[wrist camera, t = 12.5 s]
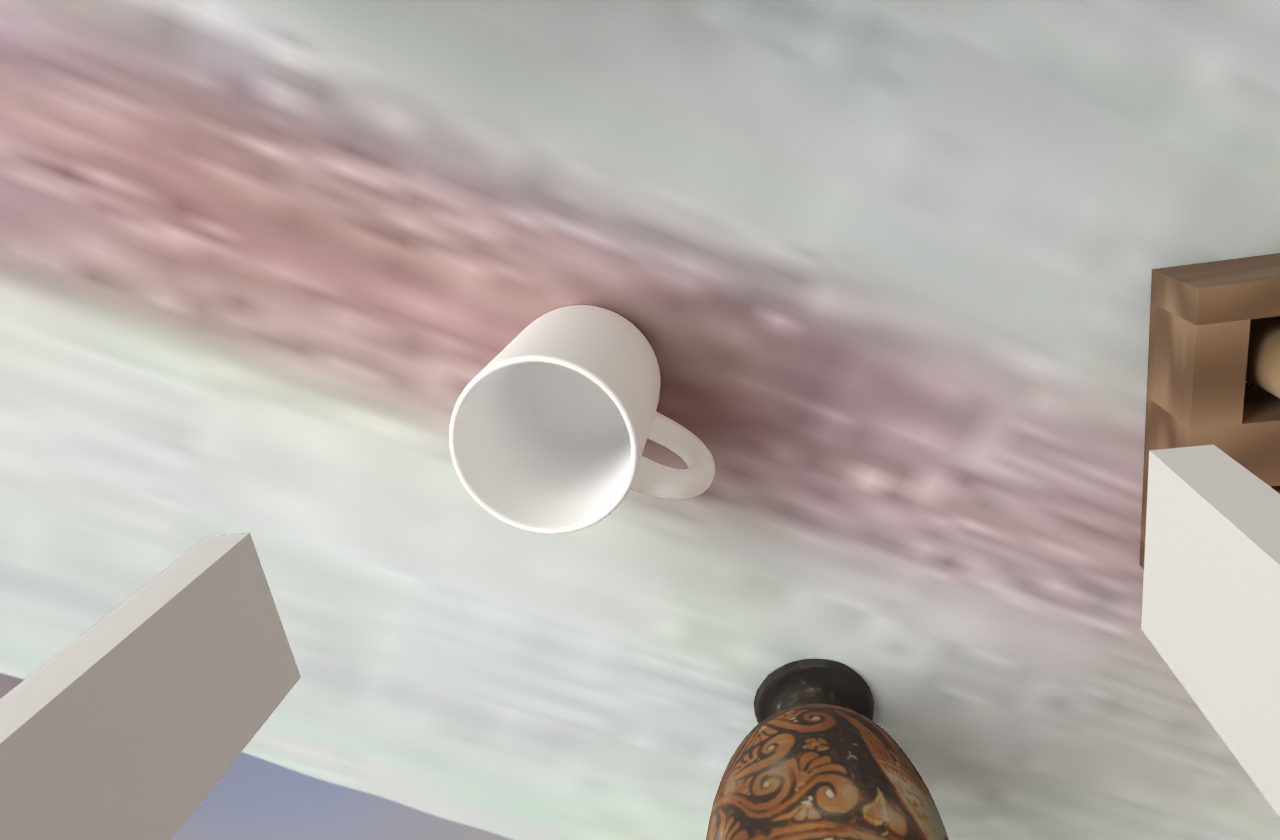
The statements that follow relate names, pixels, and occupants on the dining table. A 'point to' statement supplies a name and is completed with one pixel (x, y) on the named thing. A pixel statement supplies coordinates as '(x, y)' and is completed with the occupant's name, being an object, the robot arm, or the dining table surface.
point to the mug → (570, 425)
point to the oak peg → (1264, 354)
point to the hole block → (1211, 365)
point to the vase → (820, 767)
